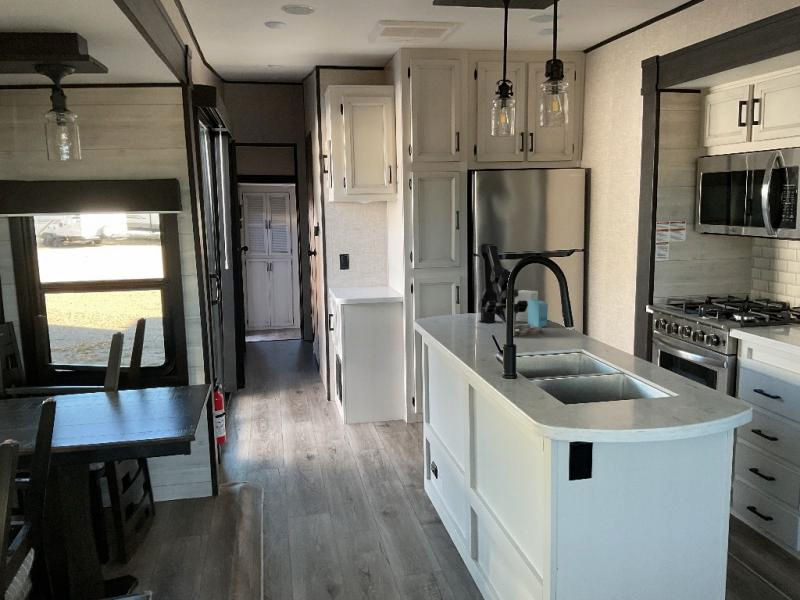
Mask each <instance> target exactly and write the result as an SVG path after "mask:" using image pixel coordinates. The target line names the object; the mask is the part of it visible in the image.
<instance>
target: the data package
mask: <svg viewBox="0 0 800 600" xmlns="http://www.w3.org/2000/svg"><path fill="white" fill-rule="evenodd" d="M527 324H530V326H533V327H542V328H546V327H547V326H548V303H547V302H546V301H544V300H540V299H538V300H529V301H528V322H527Z"/></svg>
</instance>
